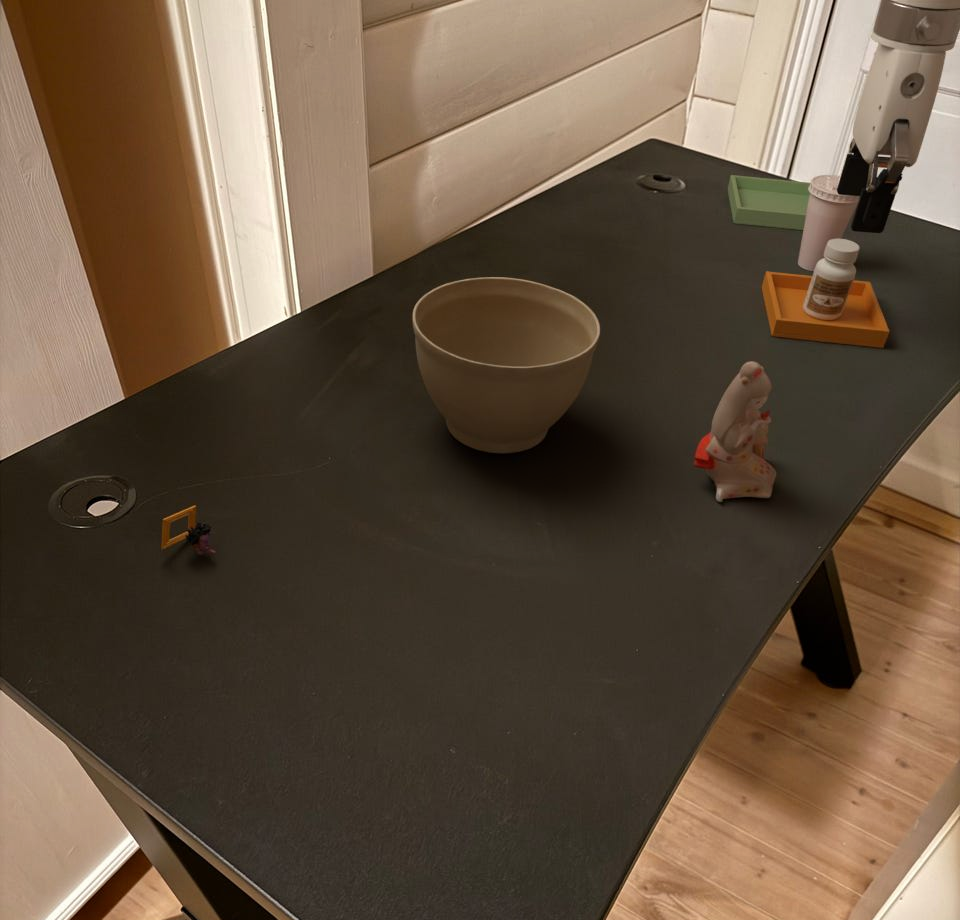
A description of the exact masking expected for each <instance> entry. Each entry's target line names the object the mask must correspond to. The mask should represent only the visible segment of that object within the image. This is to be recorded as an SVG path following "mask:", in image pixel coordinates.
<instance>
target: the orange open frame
mask: <svg viewBox="0 0 960 920" xmlns="http://www.w3.org/2000/svg"><path fill="white" fill-rule="evenodd" d="M187 516H188V517H187ZM185 517H187V519H188V520H187V529H186V531H185V532H183V533H181V534H179V535H176V536H175V537H172V538H171V537H170V534H171V524H172V523H173V522H176V521H178V520H180V519H183V518H185ZM196 517H197V505H195V504H194V505H192V506H189V507H188V508H185V509H183V510H180V511H178V512H176V513H173V514H171V515H169V516H167V517H165V518H163V519H162V528H161V546H160V547H161V548H160V549H161V550H166V549H168V548H170V547H172V546H174V545H176V544H178V543H181V542H182V541H185V540H186V543H187V544H189V545H191V546H192V547H193V551H194V552H195V553H196V554H197V555H199V556H201V555H205V552H209V553H211V554H216V553H217V552H216V550H214V549H211V548H210V546H211V543H210V535H212V533H211V529H212V526H210V524H209V523H206V522H203V523H202V522H197V524H196V520H197V519H196Z"/></svg>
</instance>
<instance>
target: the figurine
mask: <svg viewBox="0 0 960 920" xmlns="http://www.w3.org/2000/svg"><path fill="white" fill-rule="evenodd" d="M771 391H772V383H771V380H770V378H769V376H768V375H767V374H766V372H765V367H763V366H762V365H760V364H759V362H757V361H747V362H745V363H744V364H743V365H742V366H741V367H740V370H739V372H738V373H737V375H736V376H735V377H734V379H732V381H731V383H730V384H729V385H728V387H727V388H726V390H725V392H724V393H723V395H722V397H721V399H720V401H719V403H718V405H717V407H716V409H715V411H714V414H713V418H712V422H711V430H710V432H708V433H707V434H706V435H705V436H703V437H702V438H701V440H700V441H699V443H698V445H697V448H696V450H695V454H694V464H693V465H694V467H695V468H699V469H705V471H706V474H707V476H708V477H709V478H710V479H711V480H712V481H713V483H714V485H715V489H716V494H715V500H716V501H717V502H719V503H722V502H723V500H727V499H735V498H750V497H751V498H757V499H769V498H771V496H772V493H773V487H774V483H775V479H776V477H777V471H776V469H775V468H774V467H773V466H772V465H771V464H770V463H769V462H767V461H766V460H765V446H768V445H769V444H770V442H769V441H770V440H769V437H768V433H769V431H770V427H769V424H770V423H771V422H772V418H771V416H770V412H771V409H768V410H767V411H765V412H761V411H760V410H759V409H761V408H763V406H764V405H765V404H766V402H767V401H768V398H769V393H770V392H771Z"/></svg>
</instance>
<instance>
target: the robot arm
mask: <svg viewBox="0 0 960 920" xmlns="http://www.w3.org/2000/svg"><path fill="white" fill-rule="evenodd" d="M959 33H960V0H880V3H879V6H878V11H877V15H876V17H875V21H874V24H873V28H872V30H871V34H870V38H871V40H872V41H874V42H875V43H878V44H877V46H876V49H875V51H874V53H873V58H872V60H871V64H870V66H869V69H868V73H867V76H866V79H865V83H864V85H863V88H862V92H861V95H860V97H859V98H860V99H859V101H858V105H857V109H856V111H855V117H854V121H853V125H852V139H851V141H850V143H849V146H850V147H849V146H848V149H849V153H852V154H847V153H846V155H847V157H846V156H845V159H846V160H845V159H844V162H845V164H844V163H843V165H844V167H843V166H842V168H843V170H842V169H841V171H842V174H841V173H840V175H841V177H840V181H839V184H838V187H837V192H838V194H839V195H850V196H860V198H859V201H858V203H857V206H856V208H855V210H854V213H853V218H852V220H851V221H852V222H851V223H850V228H851V231H853V232H855V233H856V232H858V233H859V232H860V233H868V234H869V233H871V234H881V233H883V232H884V230H885V228H886V225H887V221H888V218H889V216H890V213H891V210H892V207H893V204H894V201H895V199H896V195H897V194H898V191H899V187H900V182H901V181H902V179H903V171H904V169H905V168H911V167H913V166H914V165H915V164H916V163H917V161H918V158H919V155H920V152H921V149H922V145H923V142H924V138H925V134H926V132H927V128H928V126H929V123H930V118H931V115H932V112H933V109H934V105H935V101H936V98H937V95H938V91H939V87H940V82H941V79H942V75H943V71H944V65H945V61H946V55H947V51H951V50H953V49H954V48H955V45H956V42H957V39H958V36H959ZM879 168H883V169H882V170H881V171H880V172H879V174H878V171H879Z"/></svg>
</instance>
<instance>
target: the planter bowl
mask: <svg viewBox="0 0 960 920" xmlns="http://www.w3.org/2000/svg"><path fill="white" fill-rule="evenodd" d="M412 328H413V333H414V336H415V352H416V353H415V354H416V358H417V359H416V360H417V364H418V368H419V372H420V376H421V378H422V381H423V384H424V387H425V388H426V391H427V393H428V395H429V396H430V399H431V401H433V404H434V406H435V407H436V408H437V410H438V411H439V413H440V414H441V415H442V416H443V418H444V419H445V424H446V427H447V429H448V431H449V433H450V434H451V435H452V437H453V438H455V440H457V441H458V442H459V443H460V444H463V445H465V446H467V447H469V448H472V449H473V450H477V451H480V452H483V453H484V452H485V453H490V454H515V453H519V452H520V453H521V452H524V451H527V450H531V449H532V448H534V447H536V446H537V445H539V444H540V443H542V441H543V440H544V439H545V438H546V436H547V434H548V432H549V429H550V428H551V427H552V426H554V424H555V423H556V422H558V421H559V420H560V419H561V417H563V416H564V414H565V413H566V412H568V410H569V408H571V406H572V404H573V403H574V402H575V400H576V399H577V397H578V395H580V392H581V391H582V388H583V386H584V384H585V382H586V379H587V377H588V374H589V372H590V369H591V365H592V362H593V357H594V352H595V351H596V349H597V346H598V344H599V341H600V336H601V325H600V321H599V319H598V317H597V315H596V314H595V312H594V311H593V310H592V309H591V308H590V307H589V306H588V305H587V304H586V303H584V302H583V301H581V299H579V298H578V297H576V296H575V295H572V294H570V293H567V292H565V291H563V290H561V289H558V288H556V287H554V286H553V287H552V286H550V285H547V284H543V283H540V282H536V281H532V280H527V279H522V278H513V277H505V276H504V277H503V276H502V277H497V276H495V277H494V276H490V277H487V276H485V277H473V278H465V279H459V280H455V281H451V282H447V283H445V284H442V285H440V286H437V287H435V288H433V289H431V290H430V291H428V292H427V293H425V294H424V295H422V296H421V298H420V299H418V301H417V302H416V304H415V305H414V308H413V310H412Z"/></svg>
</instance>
